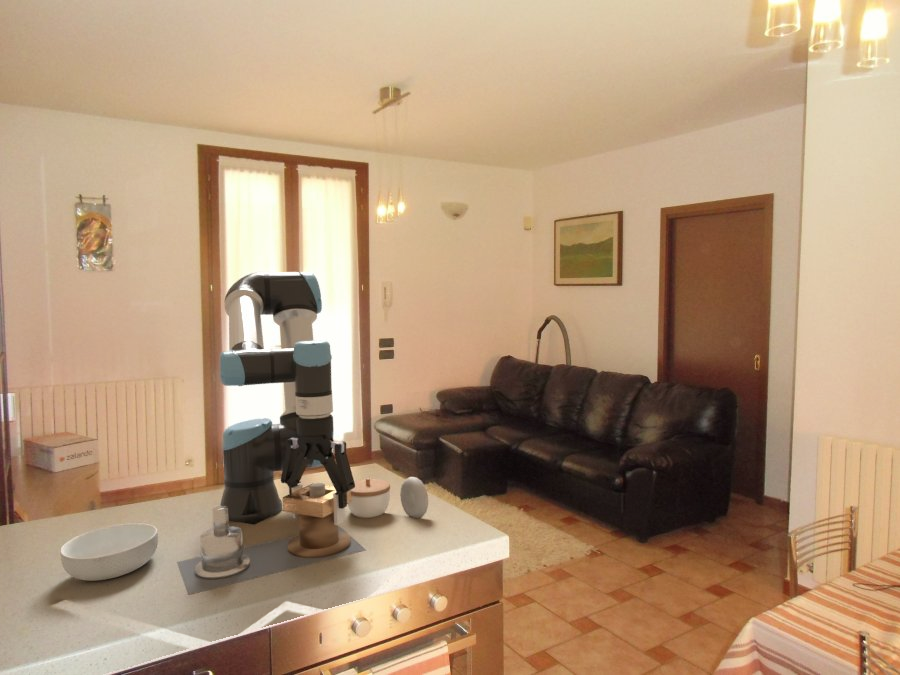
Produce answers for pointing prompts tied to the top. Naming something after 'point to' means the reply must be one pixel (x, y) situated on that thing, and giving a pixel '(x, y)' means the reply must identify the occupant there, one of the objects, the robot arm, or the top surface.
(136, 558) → the cereal bowl
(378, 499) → the lidded jar
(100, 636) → the top surface
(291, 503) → the wooden square ring
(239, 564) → the pale stepped hub
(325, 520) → the walnut hub
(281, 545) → the rubber mat
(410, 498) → the grey piece
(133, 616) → the top surface
